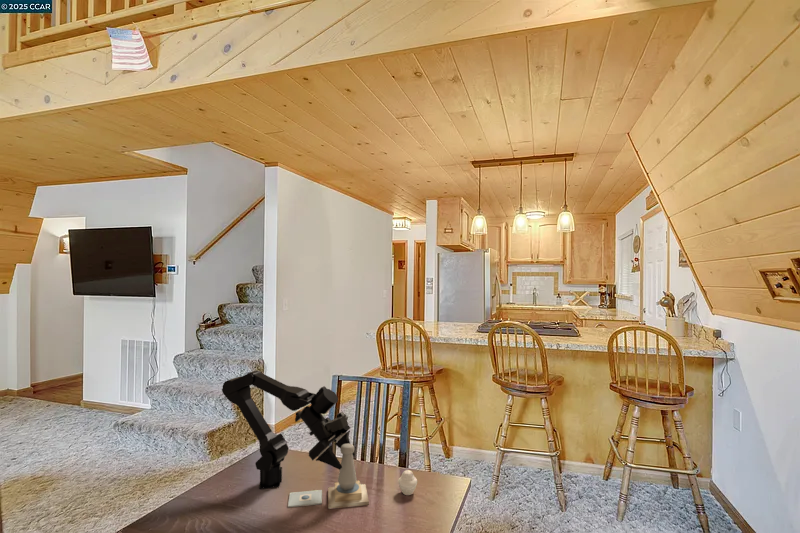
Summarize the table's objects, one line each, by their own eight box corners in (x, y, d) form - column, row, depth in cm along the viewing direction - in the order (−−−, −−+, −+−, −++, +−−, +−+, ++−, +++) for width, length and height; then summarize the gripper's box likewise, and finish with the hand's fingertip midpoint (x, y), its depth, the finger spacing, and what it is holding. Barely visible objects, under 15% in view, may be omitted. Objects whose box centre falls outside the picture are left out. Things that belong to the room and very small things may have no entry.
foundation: (328, 508, 125) (328, 498, 125) (328, 490, 135) (328, 480, 136) (368, 504, 127) (368, 494, 127) (365, 487, 138) (365, 477, 138)
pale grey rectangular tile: (287, 507, 125) (287, 505, 125) (289, 493, 133) (289, 492, 133) (321, 504, 127) (321, 502, 127) (321, 491, 135) (321, 489, 135)
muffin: (414, 486, 138) (414, 465, 138) (419, 496, 132) (419, 473, 132) (396, 489, 136) (396, 467, 136) (400, 498, 130) (400, 475, 130)
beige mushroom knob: (347, 493, 127) (347, 450, 128) (334, 488, 131) (334, 446, 131) (360, 485, 132) (360, 444, 133) (346, 480, 135) (346, 440, 136)
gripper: (318, 415, 125) (351, 458, 121) (345, 398, 142) (375, 435, 139) (294, 439, 127) (327, 481, 123) (324, 419, 145) (353, 456, 141)
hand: (347, 462), depth 131 cm, fingers open, 9 cm apart
